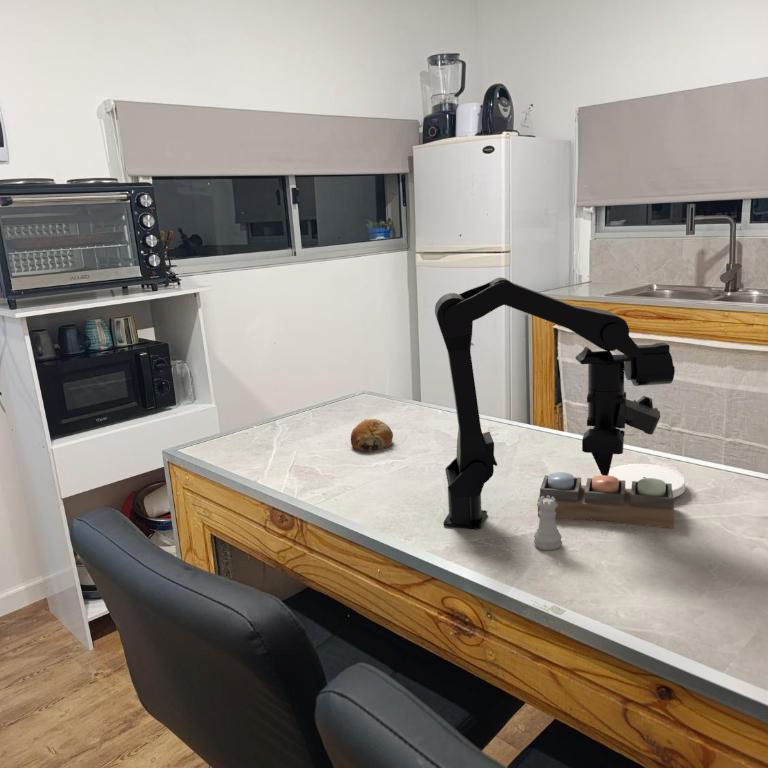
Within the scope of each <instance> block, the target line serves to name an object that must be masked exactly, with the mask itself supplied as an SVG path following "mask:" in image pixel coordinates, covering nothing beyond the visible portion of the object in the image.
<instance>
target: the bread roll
mask: <svg viewBox="0 0 768 768" xmlns="http://www.w3.org/2000/svg"><path fill="white" fill-rule="evenodd" d="M393 437H394V432H393V431H392V429H391V427H390V426H389V425H388V424H386V423H385V422H384V421H382V420H380V419H377V418H376V419H375V418H371V419H370V418H369V419H368V418H367V419H364V420H361V421H360V422H359V423H358V424H357V425H356V426H355V427H354V428H353V429H352V431H351V434H350V444H351V447H352V448H353V449H354V450H356V451H359V450H360V451H362V452H375V451H380V450H383V449H387V448H389V447H390V445H392V444H393ZM360 451H359V452H360Z"/></svg>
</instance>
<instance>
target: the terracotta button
mask: <svg viewBox="0 0 768 768" xmlns="http://www.w3.org/2000/svg"><path fill="white" fill-rule="evenodd" d="M592 492H605V493H618V492H619V480H618V479H617V478H616V477H613V476H609V475H607V476H605V475H602V474H601V475H596V476H594V477H592Z"/></svg>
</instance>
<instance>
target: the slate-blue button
mask: <svg viewBox="0 0 768 768" xmlns="http://www.w3.org/2000/svg"><path fill="white" fill-rule="evenodd" d="M547 476H548V488H550V489H563V490H573V489H574V475H573V474H571V473H568V472H558V471H557V472H553V473H550V474H548V475H547Z"/></svg>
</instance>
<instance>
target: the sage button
mask: <svg viewBox="0 0 768 768" xmlns="http://www.w3.org/2000/svg"><path fill="white" fill-rule="evenodd" d="M665 493H666V483H665V482H664V481H662V480H659V479H655V478H644V479H641V480H639V481H638V495H646V496H659V497H665Z"/></svg>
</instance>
